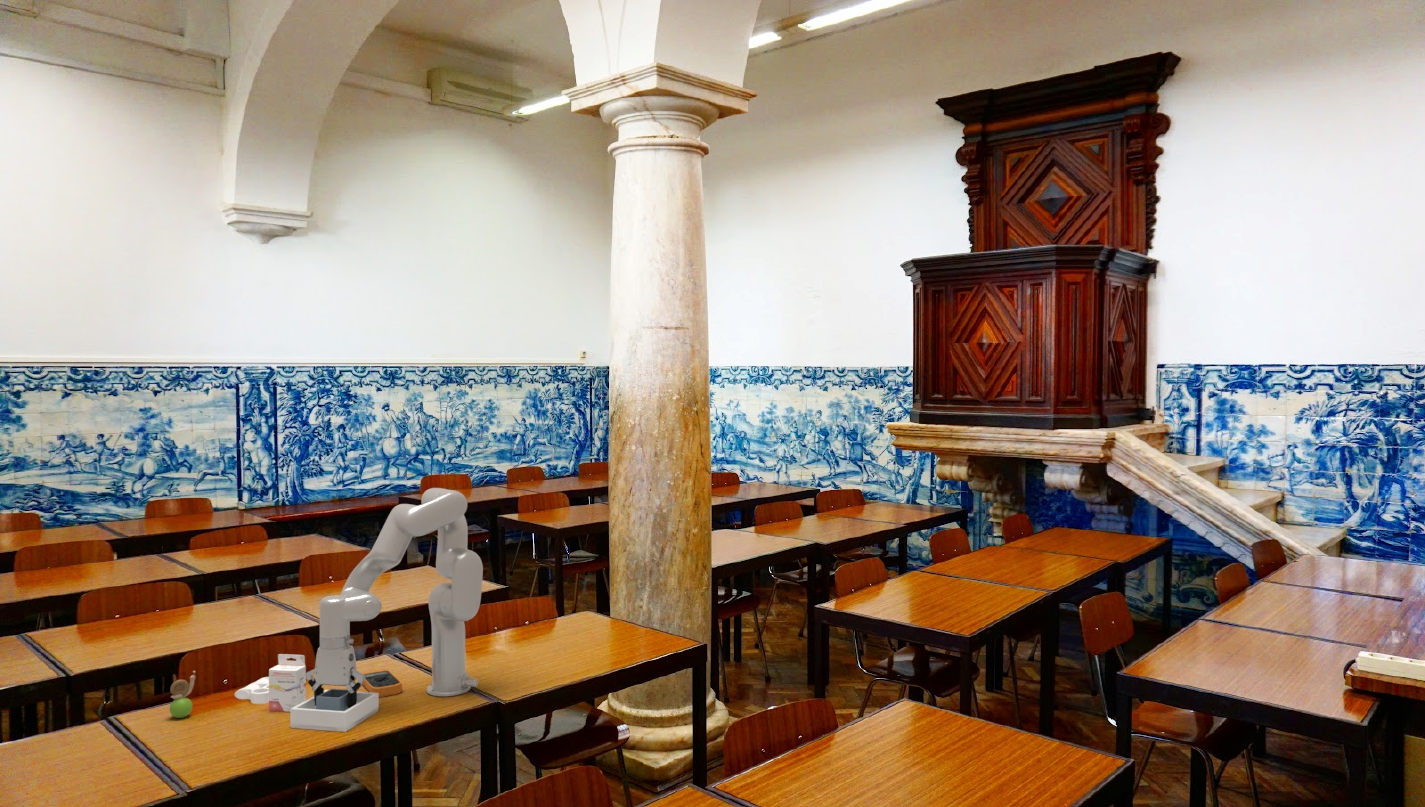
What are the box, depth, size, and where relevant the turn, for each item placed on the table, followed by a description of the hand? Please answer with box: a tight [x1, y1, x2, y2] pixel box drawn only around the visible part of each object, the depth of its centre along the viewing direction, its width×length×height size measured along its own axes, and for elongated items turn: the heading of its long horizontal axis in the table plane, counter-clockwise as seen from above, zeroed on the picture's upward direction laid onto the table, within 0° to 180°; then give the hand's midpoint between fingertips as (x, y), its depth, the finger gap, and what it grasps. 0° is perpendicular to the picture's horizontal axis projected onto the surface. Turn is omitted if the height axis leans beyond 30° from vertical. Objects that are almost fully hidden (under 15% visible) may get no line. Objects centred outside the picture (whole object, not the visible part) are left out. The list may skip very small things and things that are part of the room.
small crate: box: [316, 688, 349, 711], centre depth 255 cm, size 7×7×6 cm
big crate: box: [289, 689, 380, 733], centre depth 255 cm, size 16×16×5 cm
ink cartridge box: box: [268, 653, 307, 713], centre depth 263 cm, size 9×5×15 cm, turn 84°
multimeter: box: [361, 668, 403, 698], centre depth 281 cm, size 9×18×3 cm, turn 33°
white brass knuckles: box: [234, 676, 269, 705], centre depth 277 cm, size 3×18×15 cm
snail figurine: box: [169, 670, 196, 719], centre depth 257 cm, size 5×6×12 cm
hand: (335, 705), depth 255 cm, fingers open, 9 cm apart
